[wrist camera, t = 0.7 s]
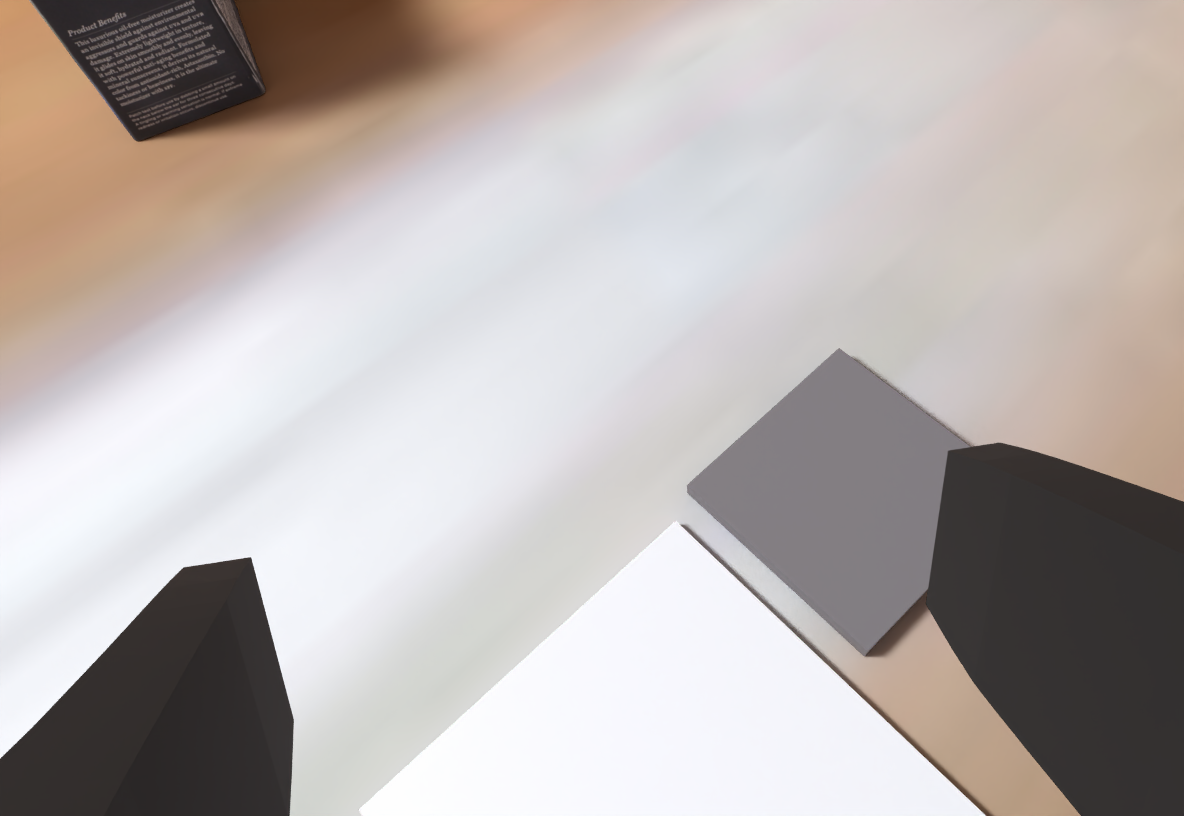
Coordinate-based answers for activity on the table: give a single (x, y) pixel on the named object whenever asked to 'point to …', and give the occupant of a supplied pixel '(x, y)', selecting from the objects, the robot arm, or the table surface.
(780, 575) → the grey square tile
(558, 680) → the notepad
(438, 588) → the table surface
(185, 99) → the small box
